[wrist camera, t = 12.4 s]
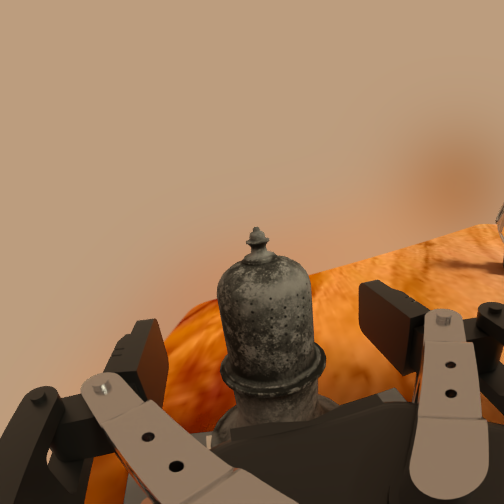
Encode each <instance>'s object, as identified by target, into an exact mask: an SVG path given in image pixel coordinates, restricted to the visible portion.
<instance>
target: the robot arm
mask: <svg viewBox="0 0 504 504" xmlns="http://www.w3.org/2000/svg"><path fill="white" fill-rule="evenodd" d="M359 325H360V328H361V331H362V332H363V334H364V335H365V336H366V337H367V338H368V339H369V340H370V341H371V342H372V343H373V344H374V345H375V346H376V348H377V349H378V350H379V351H380V352H381V353H382V354H383V355H384V356H385V357H386V358H387V359H388V360H389V362H390V363H391V364H392V365H393V366H394V367H395V368H396V369H397V370H398V371H399V372H400V373H401V375H402V376H405V375H408V374H410V373H413V372H416V378H415V385H414V392H413V398H412V402H403V401H392V402H383V401H382V400H381V399H380V397H379V396H378V395H377V394H374V395H371V396H368V397H365V398H362V399H359V400H356V401H353V402H349V403H346V404H343V405H341V406H339V407H337V408H335V409H333V410H331V411H329V412H327V413H325V414H323V415H321V416H319V417H317V418H315V419H312V420H309V421H297V422H268V423H262V424H257V425H251V426H245V427H239V428H232V429H230V434H231V440H228V441H225V442H223V443H221V444H219V445H216V446H215V447H213V448H211V449H207V448H206V447H205V446H204V445H202V444H201V443H200V442H199V441H198V440H196V439H195V438H194V437H193V436H192V435H190V434H189V433H188V432H187V431H186V430H185V429H183V428H182V427H181V426H180V425H179V424H178V423H177V422H175V421H174V420H173V419H172V418H171V417H170V416H169V415H168V414H167V413H166V412H164V411H163V410H162V406H163V400H164V393H165V387H166V381H167V375H168V370H169V363H168V356H167V352H166V349H165V345H164V342H163V339H162V335H161V332H160V328H159V324H158V322H157V320H156V319H148V320H140V321H137V322H136V324H135V326H134V328H133V330H132V332H131V334H126V335H125V336H124V337H123V338H121V339H120V340H119V341H118V342H117V344H116V346H115V348H114V351H113V353H112V355H111V357H110V359H109V361H108V363H107V365H106V367H105V369H104V371H103V373H100V374H97V375H94V376H92V377H90V378H89V379H87V380H86V381H85V382H84V383H83V385H82V387H81V394H78V395H73V396H69V397H64V398H60V396H59V394H58V392H57V390H56V389H55V388H53V387H50V386H43V387H39V388H36V389H34V390H32V391H30V392H29V393H27V394H26V395H25V396H24V398H23V399H22V401H21V403H20V404H19V406H18V408H17V410H16V411H15V413H14V415H13V416H12V418H11V420H10V422H9V424H8V425H7V427H6V429H5V431H4V433H3V435H2V437H1V438H0V504H84V501H85V495H86V490H87V485H88V481H89V476H90V471H91V467H92V462H93V457H96V456H101V455H106V454H110V453H115V454H116V456H117V457H118V459H119V460H120V461H121V463H122V464H123V466H124V467H125V468H126V470H127V471H128V472H129V474H130V475H131V476H132V478H133V479H134V480H135V482H136V483H137V484H138V485H139V487H140V488H141V489H142V490H143V492H144V493H145V494H146V495H147V497H148V498H149V499H150V501H151V502H152V503H153V504H504V425H501V424H497V423H492V422H487V420H486V419H485V418H483V417H482V411H481V398H480V392H481V393H482V394H483V395H484V396H485V397H486V398H487V399H488V400H489V401H490V402H491V403H492V404H493V405H494V406H495V407H496V408H497V409H498V410H499V411H500V412H501V413H502V414H503V415H504V365H503V364H502V363H501V362H500V361H499V360H500V357H501V353H502V350H503V346H504V304H501V303H496V302H487V303H483V304H481V305H480V306H479V307H478V313H477V318H471V319H464V320H463V319H462V316H461V315H460V314H459V313H457V312H455V311H453V310H449V309H435V310H429V309H428V308H426V307H425V306H423V305H422V304H420V303H419V302H417V301H415V300H414V299H412V298H411V297H409V296H408V295H406V294H405V293H403V292H402V291H399V290H395V289H392V288H390V287H389V286H387V285H386V284H384V283H383V282H381V281H380V280H374V281H369V282H365V283H361V284H360V286H359ZM49 448H50V449H51V451H52V455H51V458H50V461H49V463H48V465H47V461H46V457H47V452H48V450H49Z"/></svg>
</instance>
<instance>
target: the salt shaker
mask: <svg viewBox="0 0 504 504" xmlns="http://www.w3.org/2000/svg"><path fill="white" fill-rule="evenodd" d="M268 241H269V238H266V237H265V235H264V232H262V231H260V229H259V228H258V227H254V228H253V232H252V233H250V240H248V241H246V244H248V245H250V246H251V254H248V255H246V256H245V257H244V259H243V260H242V261H239V262H237V263H235V264H234V265H233V266H231V267H230V268H229V269H228V270H227V271H226V272H225V273H224V274H223V275H222V277H221V279H220V281H219V283H218V287H217V299H218V304H219V310H220V315H221V320H222V326H223V331H224V336H225V341H226V346H227V351H228V354H227V355H226V356H225V358H224V360H223V361H222V363H221V368H220V373H221V376H222V379H223V381H224V382H225V383H226V384H227V385H228V387H229V388H231V389H233V390H234V395H235V399H236V404H237V405H235V406H234V407H232V408H231V409H230V410H228V411H227V412H226V413H225V414H224V415H223V416H222V418H221V419H220V420H219V421H218V422H217V424H216V426H215V428H214V430H213V432H212V438H211V448H213V447H215V446H216V445H219V444H221V443H223V442H225V441H228V440H231V434H230V429H232V428H239V427H245V426H251V425H257V424H262V423H268V422H297V421H309V420H312V419H315V418H317V417H319V416H321V415H323V414H325V413H327V412H329V411H331V410H333V409H335V408H337V407H339V406H340V405H338V404H337V403H335V402H334V401H332V400H331V399H329V398H327V397H324V396H322V395H319V394H318V378H319V377H320V376H321V374H322V372H323V371H324V369H325V366H326V356H325V353H324V350H323V349H322V348H321V347H320V346H319V345H318V344H317V343H315V342H314V328H313V311H312V295H311V283H310V280H309V276H308V274H307V272H306V270H305V269H304V268H303V267H302V266H301V265H300V264H299V263H297V262H296V261H294V260H291V259H289V258H288V257H284V256H277V255H276V254H275V253H274V252H270V251H267V249H266V244H267V242H268Z"/></svg>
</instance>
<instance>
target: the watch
mask: <svg viewBox="0 0 504 504" xmlns="http://www.w3.org/2000/svg"><path fill="white" fill-rule="evenodd" d="M496 224H498V232H499V235H500V238H501V240H502V242H503V243H504V238H503V235H502V233H501V232H502V229H503V227H504V203H503V205H502V207H501V209H500V211H499V213H498V216H497V218H496ZM503 266H504V258H503Z"/></svg>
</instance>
